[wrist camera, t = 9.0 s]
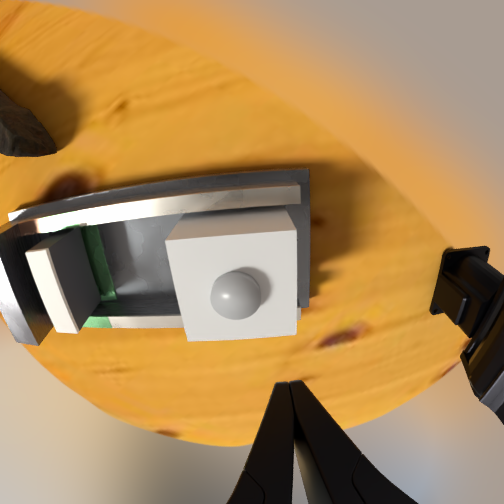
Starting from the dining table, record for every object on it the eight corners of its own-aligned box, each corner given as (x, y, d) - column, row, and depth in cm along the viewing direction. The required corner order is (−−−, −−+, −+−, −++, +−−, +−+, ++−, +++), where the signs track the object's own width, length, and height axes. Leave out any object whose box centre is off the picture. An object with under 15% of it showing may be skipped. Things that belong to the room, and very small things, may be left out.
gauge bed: (305, 167, 18) (333, 183, 12) (306, 300, 22) (323, 352, 16) (15, 210, 18) (-31, 235, 12) (47, 309, 22) (16, 347, 16)
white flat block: (79, 225, 17) (45, 250, 13) (101, 299, 20) (77, 333, 16) (59, 229, 17) (25, 252, 13) (81, 299, 20) (56, 332, 16)
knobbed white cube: (283, 204, 17) (299, 234, 12) (285, 290, 20) (298, 341, 15) (184, 212, 17) (161, 245, 12) (199, 296, 20) (186, 348, 15)
